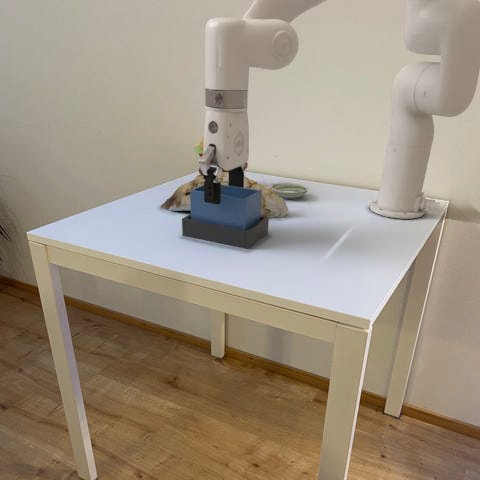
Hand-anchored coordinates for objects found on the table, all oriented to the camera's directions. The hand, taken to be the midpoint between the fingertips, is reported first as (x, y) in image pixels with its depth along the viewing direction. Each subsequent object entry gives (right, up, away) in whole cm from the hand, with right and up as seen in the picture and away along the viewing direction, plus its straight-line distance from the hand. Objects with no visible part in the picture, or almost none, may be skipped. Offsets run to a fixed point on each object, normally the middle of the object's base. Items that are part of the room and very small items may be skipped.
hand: (224, 196), depth 93 cm
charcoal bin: (0, -7, +4) cm, 8 cm away
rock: (0, +2, +20) cm, 20 cm away
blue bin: (0, -7, +4) cm, 8 cm away
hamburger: (-2, +11, +35) cm, 37 cm away
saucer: (+16, +8, +31) cm, 35 cm away
